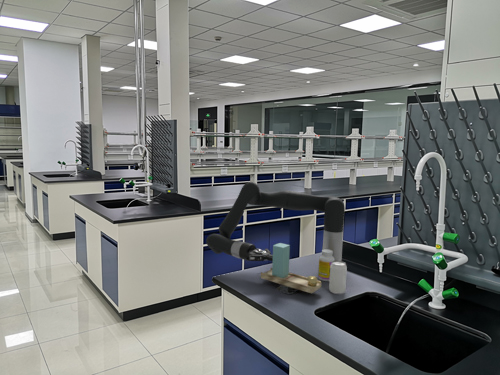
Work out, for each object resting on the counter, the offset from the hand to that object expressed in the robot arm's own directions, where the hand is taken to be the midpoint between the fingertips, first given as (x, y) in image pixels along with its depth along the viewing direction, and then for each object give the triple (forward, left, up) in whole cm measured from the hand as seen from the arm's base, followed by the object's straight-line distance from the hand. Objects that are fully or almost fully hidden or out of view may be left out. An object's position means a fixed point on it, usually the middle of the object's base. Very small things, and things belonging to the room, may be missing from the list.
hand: (275, 258), depth 152 cm
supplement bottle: (-1, +24, -11) cm, 26 cm away
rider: (+2, +2, -7) cm, 7 cm away
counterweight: (+13, +11, -7) cm, 19 cm away
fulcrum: (+6, +5, -11) cm, 13 cm away
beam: (+6, +5, -8) cm, 11 cm away
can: (+12, +23, -11) cm, 28 cm away
